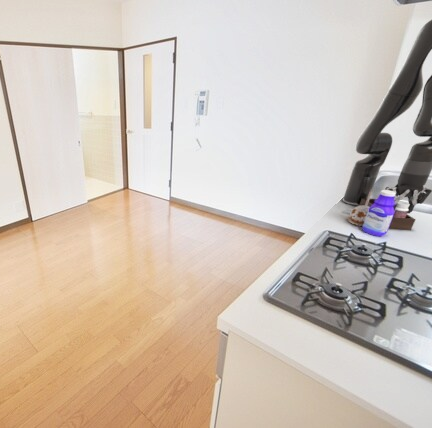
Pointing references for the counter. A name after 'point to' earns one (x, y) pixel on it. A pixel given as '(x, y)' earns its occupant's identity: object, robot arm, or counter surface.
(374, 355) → the counter surface
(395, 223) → the organiser
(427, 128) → the robot arm
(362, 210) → the decorative ornament
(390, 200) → the bottle
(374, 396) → the counter surface
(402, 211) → the pill bottle
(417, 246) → the counter surface
